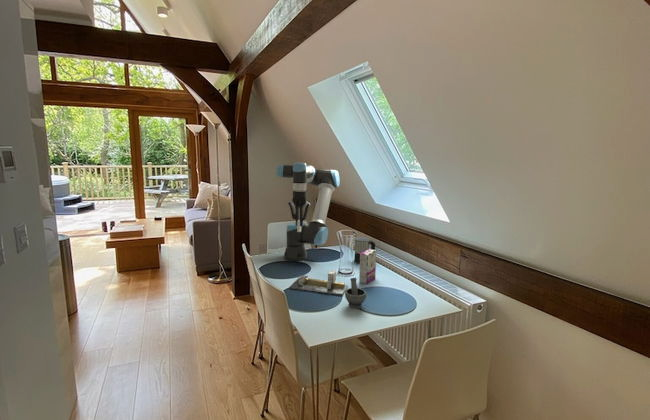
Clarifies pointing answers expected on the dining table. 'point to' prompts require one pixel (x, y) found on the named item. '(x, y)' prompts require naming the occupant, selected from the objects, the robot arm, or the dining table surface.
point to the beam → (318, 282)
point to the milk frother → (362, 247)
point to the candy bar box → (367, 266)
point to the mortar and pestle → (355, 295)
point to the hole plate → (318, 288)
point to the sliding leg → (331, 278)
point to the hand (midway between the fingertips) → (299, 231)
